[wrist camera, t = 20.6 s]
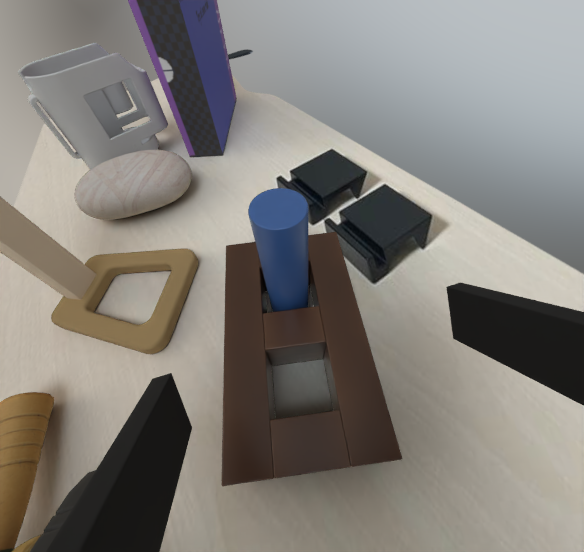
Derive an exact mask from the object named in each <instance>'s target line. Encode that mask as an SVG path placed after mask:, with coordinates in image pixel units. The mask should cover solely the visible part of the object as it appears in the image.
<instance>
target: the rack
mask: <svg viewBox="0 0 584 552" xmlns="http://www.w3.org/2000/svg"><path fill="white" fill-rule="evenodd" d="M309 285H310V289H311V295H312V300H313V305H314V307H307V308H300V309H292V310H285V311H277V312H270V313H267V300H266V291H267V287H266V283H265V279H264V274H263V270H262V266H261V262H260V258H259V254H258V250H257V246H256V242H252V243H244V244H236V245H228V246H226V283H225V335H224V387H223V440H222V486H227V485H234V484H241V483H247V482H254V481H261V480H267V479H273V478H281V477H287V476H294V475H301V474H307V473H314V472H321V471H327V470H334V469H341V468H347V467H351V466H352V467H354V466H361V465H367V464H374V463H381V462H387V461H394V460H401V459H402V456H401V452H400V449H399V445H398V442H397V439H396V435H395V432H394V428H393V425H392V421H391V418H390V415H389V411H388V408H387V404H386V401H385V397H384V394H383V391H382V387H381V384H380V380H379V377H378V373H377V370H376V367H375V363H374V360H373V356H372V353H371V349H370V346H369V343H368V339H367V336H366V332H365V329H364V325H363V322H362V319H361V315H360V312H359V308H358V305H357V302H356V298H355V295H354V291H353V288H352V284H351V281H350V278H349V274H348V271H347V267H346V264H345V260H344V257H343V254H342V250H341V247H340V243H339V240H338V236H337V233H336V232H331V233H323V234H315V235H308V286H309ZM323 358H324V363H325V369H326V374H327V379H328V385H329V390H330V395H331V401H332V406H333V411H327V412H320V413H314V414H307V415H300V416H293V417H286V418H279V419H276V414H275V402H274V389H273V376H272V366H275V365H282V364H290V363H297V362H304V361H311V360H318V359H323Z"/></svg>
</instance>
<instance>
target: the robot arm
mask: <svg viewBox="0 0 584 552" xmlns="http://www.w3.org/2000/svg"><path fill="white" fill-rule="evenodd" d="M447 294H448V301H449V309H450V316H451V324H452V331H453V339H455V340H457V341H459V342H461V343H463V344H465V345H467V346H469V347H471V348H473V349H475V350H477V351H479V352H481V353H483V354H485V355H486V356H488V357H490V358H492V359H494V360H496V361H498V362H500V363H502V364H504V365H506V366H508V367H510V368H512V369H514V370H516V371H518V372H520V373H521V374H523V375H525V376H527V377H529V378H531V379H533V380H535V381H537V382H539V383H541V384H543V385H545V386H547V387H549V388H551V389H553V390H555V391H556V392H558V393H560V394H562V395H564V396H566V397H568V398H570V399H572V400H574V401H576V402H578V403H580V404H582V405H584V312H581V311H577V310H573V309H569V308H565V307H560V306H556V305H552V304H548V303H544V302H540V301H535V300H531V299H527V298H523V297H519V296H514V295H510V294H506V293H502V292H498V291H493V290H489V289H485V288H481V287H477V286H473V285H468V284H464V283H458V284H455V285H451V286H448V287H447ZM191 430H192V426H191V424H190V421H189V418H188V416H187V413H186V410H185V408H184V405H183V403H182V400H181V397H180V395H179V392H178V390H177V387H176V384H175V382H174V379H173V376H172V374H171V373H170V374H167V375H164V376H160V377H157V378H154V379H152V381H151V382H150V384H149V386H148V387H147V389H146V391H145V392H144V394H143V395H142V397H141V399H140V400H139V402H138V403H137V405H136V407H135V408H134V410H133V412H132V413H131V415H130V416H129V418H128V420H127V421H126V423H125V425H124V426H123V428H122V429H121V431H120V433H119V434H118V436H117V438H116V439H115V441H114V442H113V444H112V446H111V447H110V449H109V450H108V452H107V454H106V455H105V457H104V459H103V460H102V462H101V463H100V465H99V467H98V468H97V470H95V471H92V472H89V473H87V474H86V475H85V476H84V478H83V479H82V480H81V481H80V482H79V483H78V484H77V485H76V486H75V487H74V488H73V489H72V490H71V491H70V492H69V493H68V495H67V496H66V498H65V499H64V501H63V502H62V504H61V505H60V507H59V508H58V510H57V511H56V516H54V517H52V519H51V520H50V522H49V523H48V525H47V526H46V528H45V529H44V534H42V535H40V537H39V538H38V540H37V541H36V543H35V544H34V546H33V547H32V549H31V550H30V552H159V551H160V548H161V544H162V540H163V536H164V532H165V529H166V525H167V521H168V517H169V513H170V510H171V506H172V502H173V498H174V495H175V491H176V487H177V483H178V479H179V476H180V472H181V468H182V464H183V460H184V457H185V453H186V449H187V445H188V441H189V438H190V434H191Z"/></svg>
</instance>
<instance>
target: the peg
mask: <svg viewBox="0 0 584 552" xmlns="http://www.w3.org/2000/svg"><path fill="white" fill-rule="evenodd" d="M248 213H249V218H250V222H251V226H252V230H253V234H254V238H255V242H256V246H257V250H258V254H259V258H260V262H261V266H262V270H263V274H264V279H265V283H266V287H267V291H268V295H269V299H270V303H271V307H272V311H273V312H277V311H285V310H292V309H300V308H307V307H308V204H307V201H306V199H305V198H304V197H303V196H302V195H301V194H300V193H298V192H296V191H294V190H290V189H285V188H277V189H271V190H267V191H264V192H262V193H260V194H259V195H257V196H256V197H255V198H254V199H253V200H252V202H251V203H250V206H249V209H248Z"/></svg>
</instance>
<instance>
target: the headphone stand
mask: <svg viewBox="0 0 584 552" xmlns="http://www.w3.org/2000/svg"><path fill="white" fill-rule="evenodd" d="M0 252H1V253H2V254H4V255H5V256H7V257H8V258H10V259H11V260H12V261H14V262H15V263H17V264H18V265H20V266H21V267H23V268H24V269H26V270H27V271H28V272H30V273H31V274H33V275H34V276H36V277H37V278H39V279H40V280H41V281H43V282H44V283H46V284H47V285H49V286H50V287H52V288H53V289H55V290H56V291H57V292H59V293H60V294H62V295H63V298H62V299H61V301H60V302H59V304H58V305H57V307H56V308H55V310H54V311H53V313H52V317H51V319H52V322H53V323H54V324H56V325H58V326H60V327H61V328H64V329H67V330H70V331H73V332H77V333H80V334H83V335H86V336H90V337H93V338H96V339H100V340H103V341H106V342H110V343H113V344H116V345H120V346H123V347H126V348H130V349H133V350H136V351H139V352H143V353H146V354H154V353H157V352H159V351H161V350H163V349H164V348H165V347H166V346H167V344H168V343H169V341H170V339H171V336H172V333H173V331H174V328H175V325H176V323H177V320H178V317H179V315H180V312H181V309H182V307H183V304H184V301H185V299H186V296H187V293H188V291H189V288H190V286H191V283H192V280H193V278H194V275H195V272H196V270H197V267H198V259H197V258H196V256H195V254H194V253H193V252H192V251H191V250H189V249H172V250H159V251H145V252H131V253H118V254H104V255H96V256H94V257H92V258H90V259H89V260H88V261H87V262H86V263H85V265H84V264H83V263H82V262H81V261H80V260H78V259H77V258H76V257H75V256H73V255H72V254H71V253H70V252H68V251H67V250H66V249H65V248H63V247H62V246H61V245H60V244H58V243H57V242H56V241H55V240H53V239H52V238H51V237H50V236H48V235H47V234H46V233H45V232H44V231H42V230H41V229H40V228H39V227H37V226H36V225H35V224H34V223H32V222H31V221H30V220H29V219H27V218H26V217H25V216H24V215H22V214H21V213H20V212H19V211H17V210H16V209H15V208H14V207H12V206H11V205H10V204H9V203H8V202H6V201H5V200H4V199H3V198H1V197H0ZM166 270H171V273H170V276H169V278H168V280H167V282H166V285H165V287H164V289H163V292H162V294H161V296H160V298H159V301H158V303H157V305H156V308H155V310H154V312H153V314H152V317H151V318H150V319H149V320H148V321H147V322H146V323H144V324H141V325H136V324H132V323H129V322H125V321H121V320H118V319H114V318H111V317H107V316H104V315H100V314H96V313H94V311H95V309H96V307H97V305H98V304H99V302H100V300H101V298H102V297H103V295H104V293H105V291H106V290H107V288H108V286H109V284H110V283H111V281H112V279H113V278H114V277H115V276H117V275H119V274H124V273H138V272H152V271H166Z"/></svg>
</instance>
